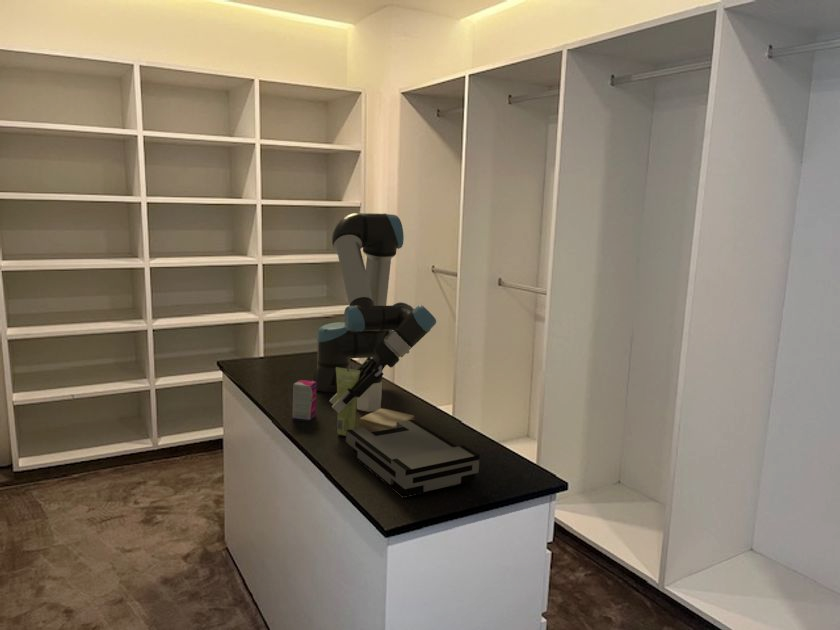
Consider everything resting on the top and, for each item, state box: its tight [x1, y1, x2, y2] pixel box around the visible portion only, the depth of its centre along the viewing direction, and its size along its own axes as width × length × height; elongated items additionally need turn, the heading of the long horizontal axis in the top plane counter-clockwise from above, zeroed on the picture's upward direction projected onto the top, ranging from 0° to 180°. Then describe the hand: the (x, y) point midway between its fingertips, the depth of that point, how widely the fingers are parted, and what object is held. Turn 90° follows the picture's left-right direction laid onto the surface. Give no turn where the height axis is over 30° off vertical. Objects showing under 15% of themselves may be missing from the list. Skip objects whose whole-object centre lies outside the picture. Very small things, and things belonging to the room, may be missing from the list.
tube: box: [336, 367, 360, 437], centre depth 184 cm, size 6×5×20 cm
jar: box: [356, 376, 383, 413], centre depth 210 cm, size 9×8×12 cm
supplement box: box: [291, 379, 317, 422], centre depth 198 cm, size 6×6×12 cm
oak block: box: [358, 407, 415, 432], centre depth 191 cm, size 12×12×4 cm
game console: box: [345, 419, 481, 497], centre depth 163 cm, size 21×32×8 cm, turn 31°
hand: (334, 406), depth 183 cm, fingers closed on tube, 5 cm apart
